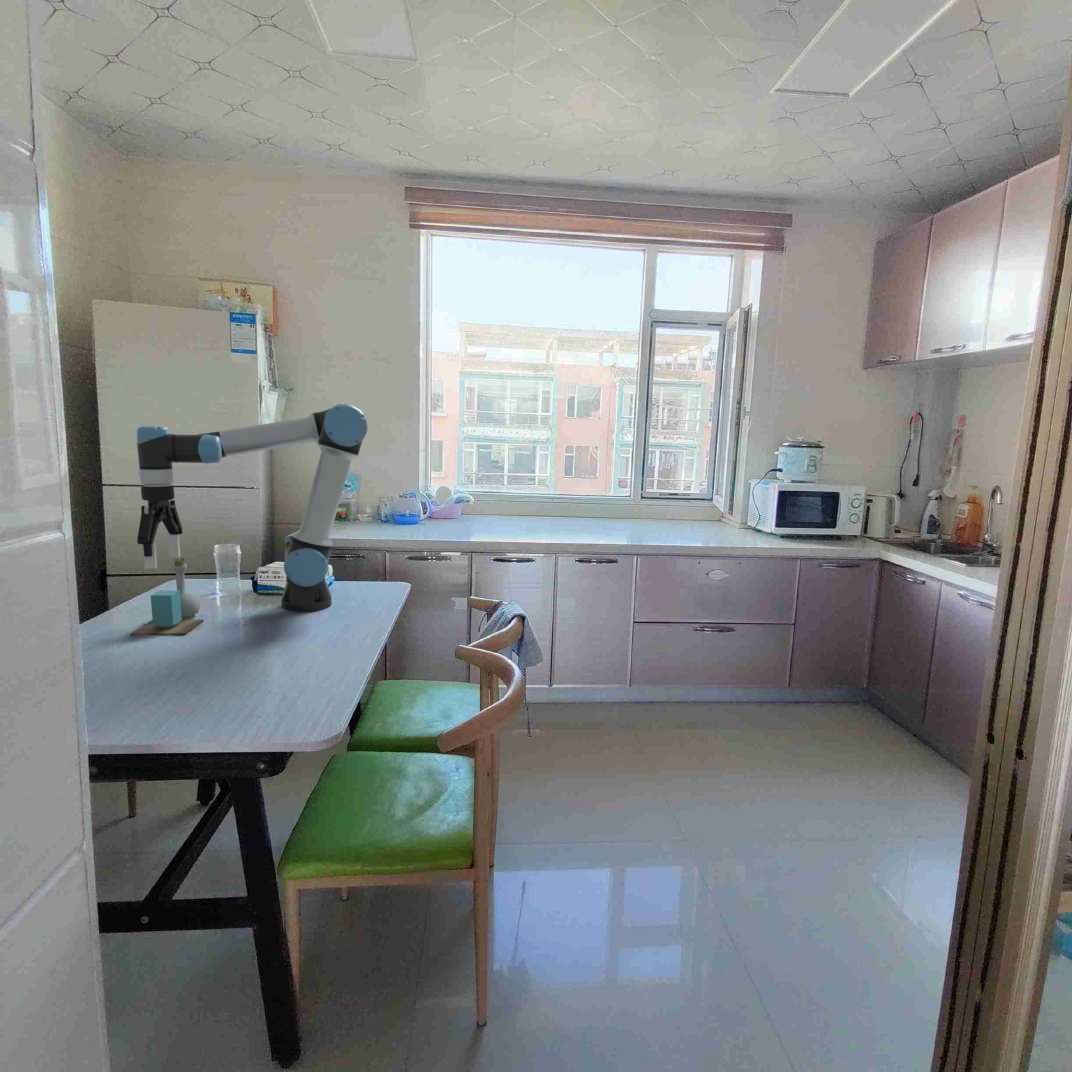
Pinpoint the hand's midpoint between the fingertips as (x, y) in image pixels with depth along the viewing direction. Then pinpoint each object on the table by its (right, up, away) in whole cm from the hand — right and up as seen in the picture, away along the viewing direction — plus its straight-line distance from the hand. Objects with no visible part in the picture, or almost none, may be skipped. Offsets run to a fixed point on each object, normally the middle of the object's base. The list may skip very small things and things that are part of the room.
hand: (163, 562), depth 167 cm
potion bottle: (-2, -17, +13) cm, 21 cm away
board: (-1, -18, +3) cm, 19 cm away
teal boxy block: (-1, -17, +3) cm, 17 cm away
